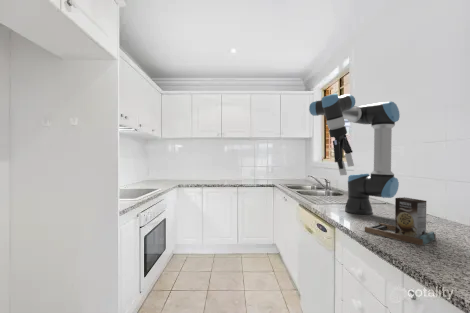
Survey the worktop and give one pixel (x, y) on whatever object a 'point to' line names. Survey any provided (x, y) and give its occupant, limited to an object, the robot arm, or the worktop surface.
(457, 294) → the worktop surface
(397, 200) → the coffee box
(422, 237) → the rectangular frame
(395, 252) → the worktop surface
